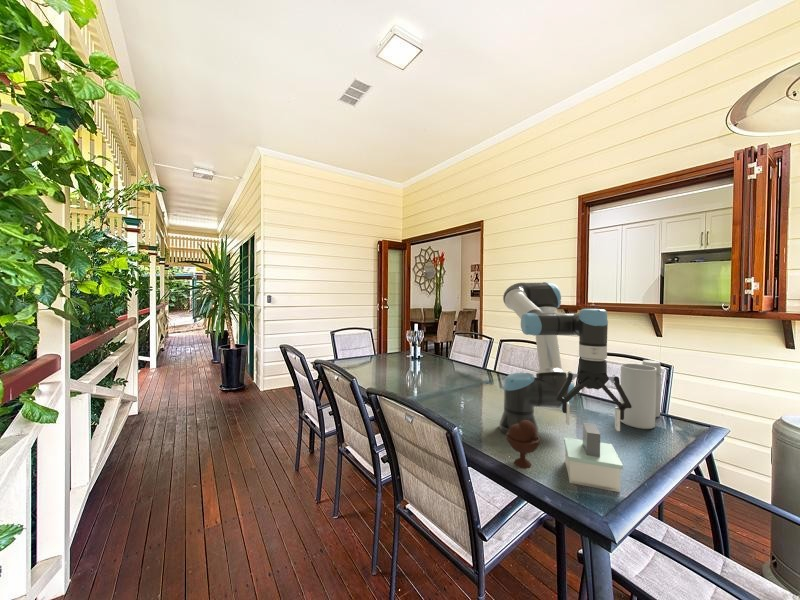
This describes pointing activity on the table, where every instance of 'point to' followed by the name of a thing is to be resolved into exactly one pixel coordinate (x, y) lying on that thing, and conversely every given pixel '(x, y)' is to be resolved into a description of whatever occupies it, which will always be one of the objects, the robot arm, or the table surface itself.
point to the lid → (592, 449)
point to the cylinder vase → (639, 395)
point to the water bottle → (658, 383)
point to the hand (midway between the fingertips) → (591, 426)
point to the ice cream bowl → (523, 441)
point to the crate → (593, 475)
